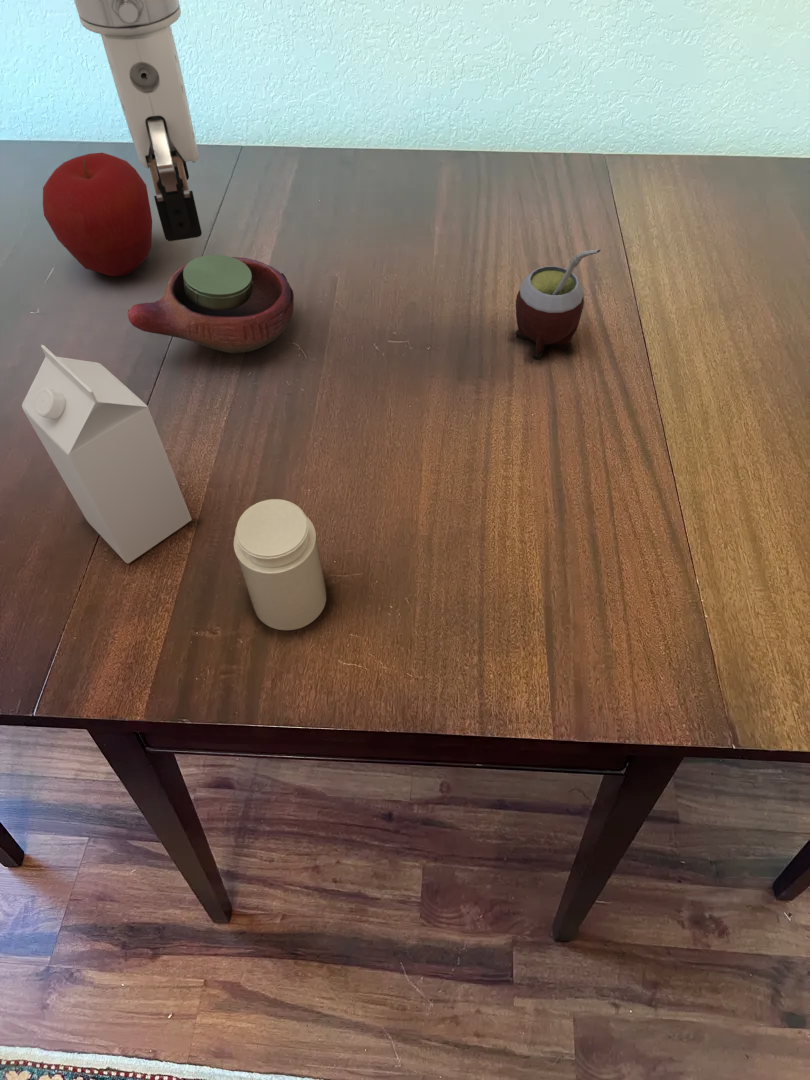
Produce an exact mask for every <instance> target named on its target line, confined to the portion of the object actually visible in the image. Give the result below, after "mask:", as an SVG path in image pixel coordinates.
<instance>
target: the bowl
mask: <svg viewBox="0 0 810 1080" xmlns="http://www.w3.org/2000/svg"><path fill="white" fill-rule="evenodd" d="M232 257H233V258H235V259H238V260H240V261H241V262H243V263H244V264H246V265H247V266H248V268H249V269H250V271H251V274H252V283H253V293H252V294H251V297H250V298H249V300H248V301H247V302H246V303H244V304H243V305H241V306H239V307H236V308H232V309H226V310H214V309H208V308H204V307H201V306H199V305H197V304H195V303H194V302H192V301H191V300H190V299H189V298H188V297H187V296H186V293H185V289H184V280H183V271H184V268H185V266H186V265H187V264H188V263H189V262H188V263H185V264H183V265H182V266H181V267H179V268H177V269H176V270H175V272H173V274H172V275H171V276H170V278H169V279H168V282H167V284H166V287H165V291H164V294H163V295H162V297H161V298H160V299H158V300H156V301H152V302H151V301H150V302H142V303H137V304H136V303H135V304H133V305H132V306H131V307H130V308H129V309H127V318H128V321H129V323H131V325H132V326H133V327H135V328H136V329H138V330H140V331H142V332H145V333H152V334H157V335H163V336H169V337H172V338H177V339H182V340H186V341H190V342H193V343H195V344H199V345H201V346H204V347H207V348H209V349H212V350H215V351H218V352H219V351H220V352H223V353H232V354H241V353H249V352H254V351H256V350H259V349H261V348H263V347H265V346H267V345H269V344H270V343H272V342H273V341H275V340H276V339H277V338H278V337H279V336H280V335H281V334H282V333H283V332H284V331H285V330H286V328H287V327H288V325H290V321H291V319H292V316H293V313H294V305H295V304H294V303H295V301H294V300H295V296H294V289H293V288H292V287H291V285H290V283H289V281H288V279H287V277H286V276H285V274H284V273H283V272H280V271H279V270H277V269H276V268H274V267H273V266H272V265H269V264H266V263H264V262H262V261H258V260H257V259H251V258H246V257H238V256H232Z"/></svg>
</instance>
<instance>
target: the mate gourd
mask: <svg viewBox="0 0 810 1080" xmlns="http://www.w3.org/2000/svg"><path fill="white" fill-rule="evenodd" d="M601 251H602V250H601V249H590V250H583V251H581V252H578V254H575V255H574V256H573V258H572V259H571V260H570V262H569V266H568V267H567V268H565V267H561V266H557V265H545V266H541V267H538V268H535V269H534V270H533V271H531V272H530V273H528V275H527V276H525V277H524V279H523V281H522V282H521V284H520V287H519V290H518V292H517V294H516V298H515V318H516V323H517V330H516V331H515V338H517V339H521V340H525V341H528V342H533V343H535V348H534V351H533V354H532V359H534V360H540V359H541V357H542V354H543V352H544V349H545V348H546V346H549V347H554V348H558V349H563V350H567V351H568V350H570V349H571V347H572V344H573V343H572V342H571V340H572V339H573V337H574V335H575V334H576V332H577V331H578V327H579V324H580V322H581V318H582V317H581V316H582V314H583V311H584V305H585V297H584V295H585V294H584V289H583V286H582V283H581V281H580V280H579V278H578V276H577V275H575V273H573V271H574V270H575V268H577V267H578V265H579V264H580V263H581V262H582V259H584V258H586V257H588V256H593V255H595V254H599V253H600V252H601Z"/></svg>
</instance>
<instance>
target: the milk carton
mask: <svg viewBox="0 0 810 1080" xmlns="http://www.w3.org/2000/svg"><path fill="white" fill-rule="evenodd" d="M40 347H41V349H42V351H43V353H44V355H45V357H44V358H43V361H42V363H41V365H40V367H39V369H38V371H37V372H36V375H35V377H34V379H33V381H32V383H31V385H30V387H29V390H28V392H27V394H26V395H25V397H24V399H23V401H22V404H21V408H22V410H23V412H24V414H25V415H26V418H27V419H28V421H29V423H30V424H31V426H32V429H34V432H35V433H36V435H37V436H38V439H39V440H40V442H41V443H42V445H43V447H44V448H45V451H46V452H47V454H48V456H49V458H50V460H51V461H52V463H53V465H54V467H55V468H56V470H57V472H58V473H59V475H60V477H61V478H62V480H63V482H64V483H65V485H66V487H67V489H68V491H69V493H70V494H71V495H72V498H73V500H74V501H75V503H76V505H77V506H78V508H79V509H80V511H81V513H82V515H83V517H84V518H85V520H86V522H87V523H88V524H89V525H90V526H91V527H92V528H93V529H94V530H95V532H96V533H97V534H98V535H99V536H100V537H101V539H103V540H104V541H105V542H106V544H107V545H108V546H110V548H111V549H112V550H113V551H114V552H115V553H116V554H117V555H118V556H119V557H120V558H121V560H123V562H124V563H126V564H127V565H128V564H130V563H132V562H133V561H135V560H136V559H137V558H139V557H140V556H142V555H143V554H146V552H148V551H150V550H151V549H152V548H154V547H155V546H156V545H158V544H160V543H161V542H162V541H164V540H166V539H167V538H168V537H170V536H171V535H172V534H174V533H176V532H177V531H178V530H180V529H181V528H183V527H184V526H186V525H187V524H188V523H190V522H191V521H193V519H192V516H191V514H190V512H189V509H188V506H187V503H186V501H185V498H184V496H183V493H182V491H181V488H180V485H179V483H178V480H177V478H176V475H175V473H174V471H173V468H172V465H171V463H170V459H169V456H168V454H167V453H166V450H165V448H164V445H163V442H162V439H161V436H160V434H159V431H158V429H157V427H156V424H155V421H154V419H153V416H152V414H151V411H150V409H149V406H148V404H146V403H145V402H143V400H142V399H141V398H140V397H138V396H137V395H136V394H135V393H134V392H133V391H131V389H130V388H128V387H127V386H126V385H125V384H124V383H122V382H121V381H120V379H119V378H117V377H116V376H115V375H114V374H113V373H111V372H110V371H109V369H107V368H106V367H105V366H104V365H103V364H102V363H100V362H96V361H91V360H90V361H89V360H82V359H77V358H76V359H75V358H69V357H62V356H57V355H55V354H54V353H53V352H52V351H50V349H48V348H47V347H46V346H45V345H44V344H41V345H40Z"/></svg>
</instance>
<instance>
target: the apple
mask: <svg viewBox="0 0 810 1080" xmlns="http://www.w3.org/2000/svg"><path fill="white" fill-rule="evenodd" d="M149 198H150V197H149V193H148V188H147V184H146V182H145V181H144V179H143V178H142V177H141V176H140V174H139V172H138V171H137V170H136V168H135V167H133V166H132V164H130V162H128V161H127V160H125V159H123V158H120V157H117V156H115V155H112V154H108V153H106V152H93V153H92V152H91V153H87V154H83V155H79V156H75V157H73V158H71V159H68V160H66V161H63V162H62V163H61V164H60V165H59V166H58V167H57V168H55V169H54V170H53V172H52V173H51V175H50V176H49V177H48V178H47V181H46V182H45V183H44V185H43V187H42V210H43V216H44V218H45V220H46V221H47V224H48V225H49V227H50V229H51V231H52V232H53V234H54V236H55V238H56V239H57V241H58V242H59V243H60V244H61V245H62V246H63V247H64V248H65V250H67V251H68V252H69V253H70V255H71V256H72V257H73V258H74V259H75V260H76V261H77V262H78V263H79V265H81V266H82V267H83V268H84V269H86V270H89V271H93V272H97V273H100V274H102V275H106V276H109V277H121V276H127V275H129V274H131V273H133V272H134V271H136V269H137V268H139V267H140V265H141V264H142V263H143V262H144V261H145V260H146V259H147V257H148V256H149V254H150V251H151V249H152V239H153V217H152V216H153V215H152V211H151V204H150V199H149Z"/></svg>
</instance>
